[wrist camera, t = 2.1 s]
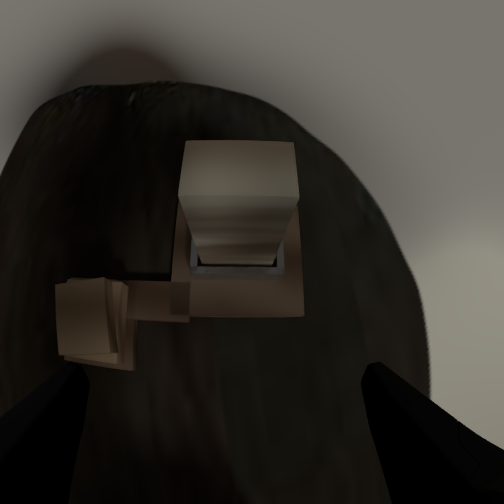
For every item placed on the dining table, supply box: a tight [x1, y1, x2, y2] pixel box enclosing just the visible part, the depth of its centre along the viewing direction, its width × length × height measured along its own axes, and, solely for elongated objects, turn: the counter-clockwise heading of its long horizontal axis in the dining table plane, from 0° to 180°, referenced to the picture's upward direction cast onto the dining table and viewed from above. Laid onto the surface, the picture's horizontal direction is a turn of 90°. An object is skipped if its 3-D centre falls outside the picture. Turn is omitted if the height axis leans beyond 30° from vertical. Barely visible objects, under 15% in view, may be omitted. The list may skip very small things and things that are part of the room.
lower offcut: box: [66, 279, 128, 364], centre depth 19 cm, size 6×5×2 cm
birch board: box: [178, 140, 299, 267], centre depth 17 cm, size 3×5×11 cm, turn 90°
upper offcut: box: [55, 277, 119, 355], centre depth 18 cm, size 5×4×2 cm
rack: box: [64, 200, 304, 371], centre depth 21 cm, size 14×19×3 cm
